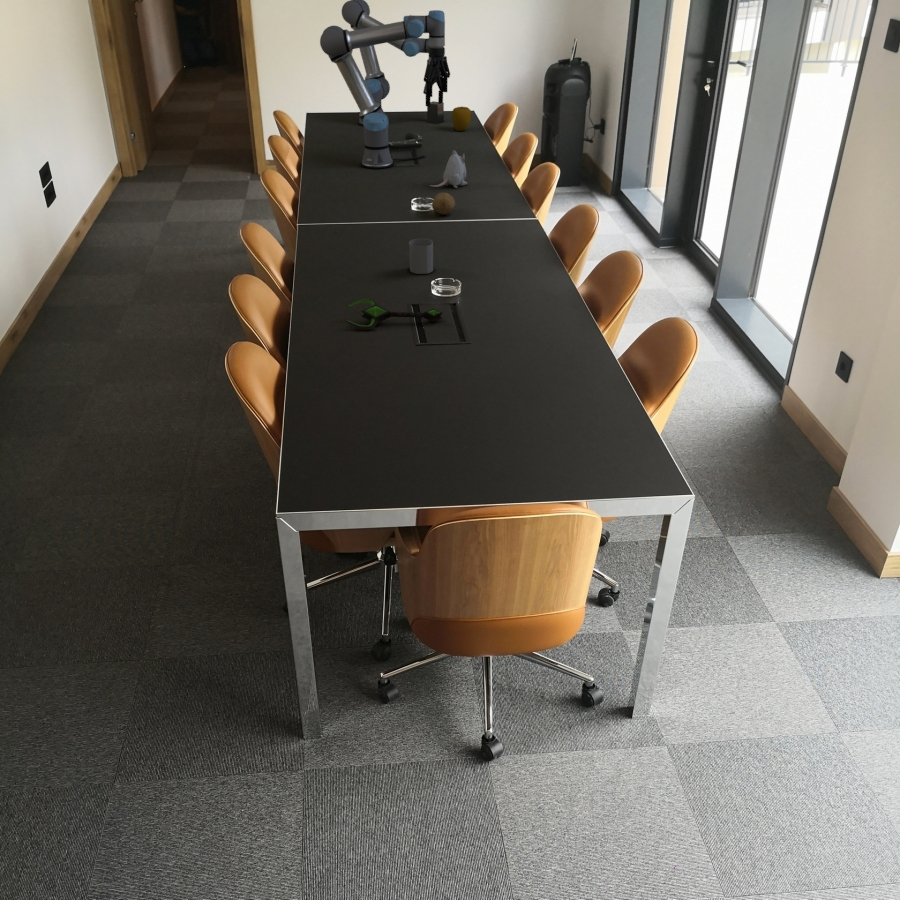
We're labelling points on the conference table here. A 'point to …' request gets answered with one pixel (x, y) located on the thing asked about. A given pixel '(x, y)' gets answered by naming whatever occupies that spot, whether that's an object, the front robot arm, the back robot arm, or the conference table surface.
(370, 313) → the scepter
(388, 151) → the front robot arm
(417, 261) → the cup
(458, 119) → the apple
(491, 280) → the conference table surface
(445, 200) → the potato
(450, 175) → the toy
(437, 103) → the block
